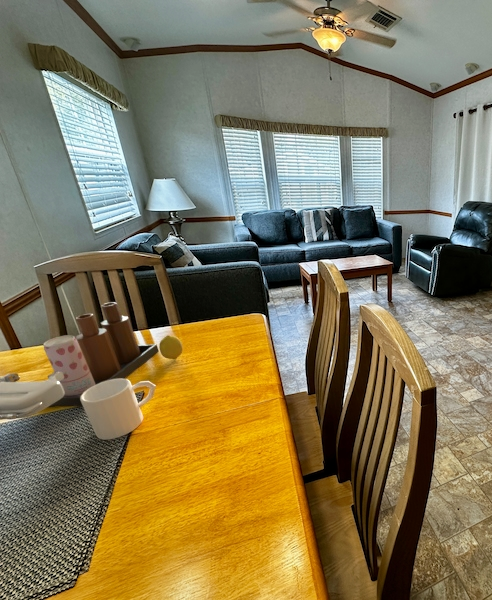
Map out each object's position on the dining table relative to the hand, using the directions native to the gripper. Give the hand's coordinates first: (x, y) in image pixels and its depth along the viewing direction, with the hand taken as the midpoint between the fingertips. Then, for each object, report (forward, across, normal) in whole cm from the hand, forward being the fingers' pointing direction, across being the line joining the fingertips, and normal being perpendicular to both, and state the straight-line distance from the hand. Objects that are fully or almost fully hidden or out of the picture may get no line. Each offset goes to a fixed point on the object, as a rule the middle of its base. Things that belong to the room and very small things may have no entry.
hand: (37, 375), depth 72 cm
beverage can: (+7, 0, +10) cm, 13 cm away
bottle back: (+23, 0, +11) cm, 26 cm away
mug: (-4, -19, +11) cm, 22 cm away
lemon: (+23, -13, +11) cm, 29 cm away
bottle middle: (+15, 0, +11) cm, 19 cm away
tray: (+15, 0, +11) cm, 19 cm away
